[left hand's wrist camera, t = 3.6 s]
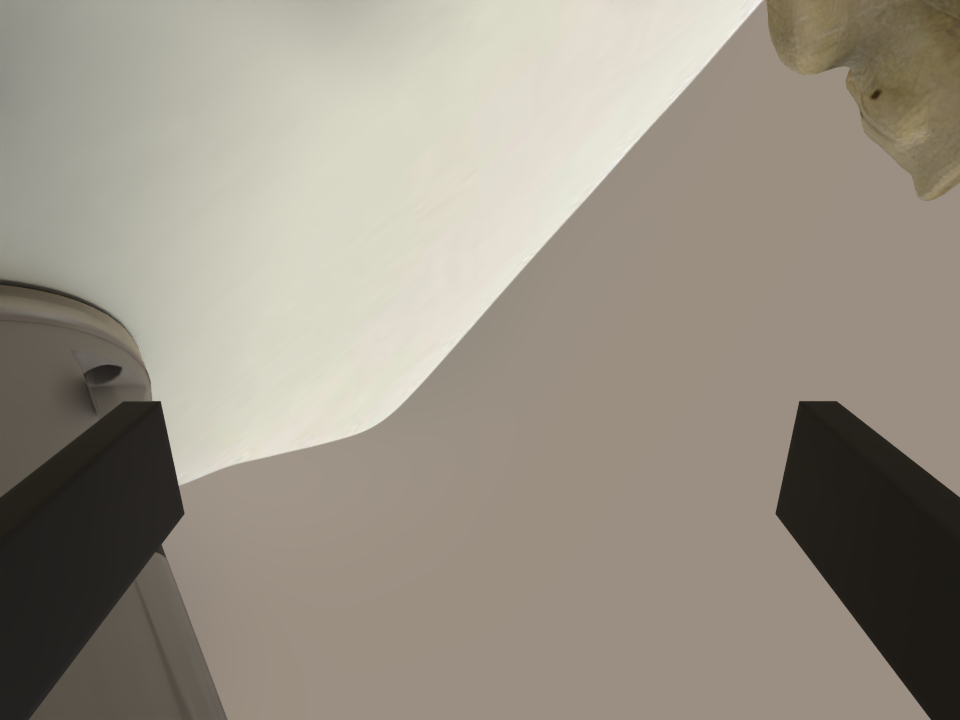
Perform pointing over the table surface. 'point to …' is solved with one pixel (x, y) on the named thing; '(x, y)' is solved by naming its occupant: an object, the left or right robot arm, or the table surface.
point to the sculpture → (887, 73)
